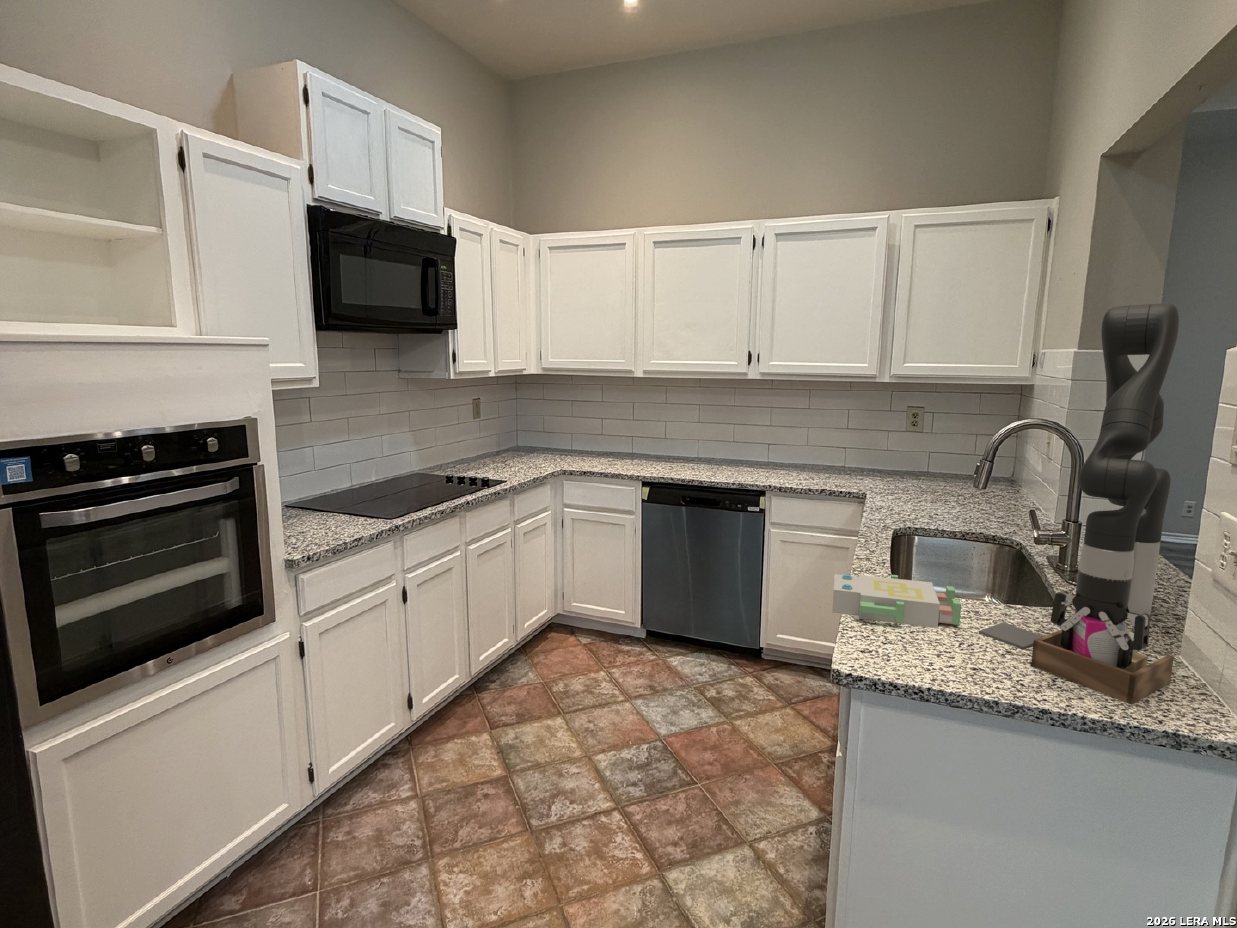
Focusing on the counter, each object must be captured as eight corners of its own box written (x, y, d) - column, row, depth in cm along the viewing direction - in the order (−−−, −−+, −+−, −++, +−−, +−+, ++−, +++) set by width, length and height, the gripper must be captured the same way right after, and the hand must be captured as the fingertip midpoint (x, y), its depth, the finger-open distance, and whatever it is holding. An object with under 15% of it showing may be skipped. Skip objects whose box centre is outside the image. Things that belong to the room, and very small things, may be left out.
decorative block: (833, 592, 142) (835, 566, 160) (831, 620, 143) (833, 590, 161) (964, 608, 133) (950, 577, 152) (962, 637, 134) (948, 603, 153)
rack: (1070, 648, 128) (1073, 624, 128) (1170, 682, 115) (1174, 656, 114) (1030, 665, 121) (1033, 640, 120) (1132, 704, 107) (1135, 676, 107)
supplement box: (1104, 671, 119) (1111, 612, 117) (1118, 687, 113) (1127, 625, 111) (1067, 667, 120) (1074, 608, 119) (1080, 682, 115) (1087, 621, 113)
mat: (1003, 624, 140) (1003, 622, 140) (1047, 639, 132) (1047, 637, 132) (978, 633, 136) (979, 630, 135) (1023, 649, 128) (1023, 647, 128)
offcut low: (1088, 657, 125) (1091, 637, 125) (1144, 676, 117) (1147, 656, 117) (1075, 663, 123) (1078, 643, 122) (1132, 683, 115) (1135, 662, 114)
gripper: (1164, 579, 109) (1151, 670, 112) (1071, 557, 122) (1061, 639, 124) (1143, 586, 106) (1130, 680, 108) (1050, 563, 118) (1040, 648, 120)
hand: (1093, 658), depth 116 cm, fingers closed on supplement box, 8 cm apart
